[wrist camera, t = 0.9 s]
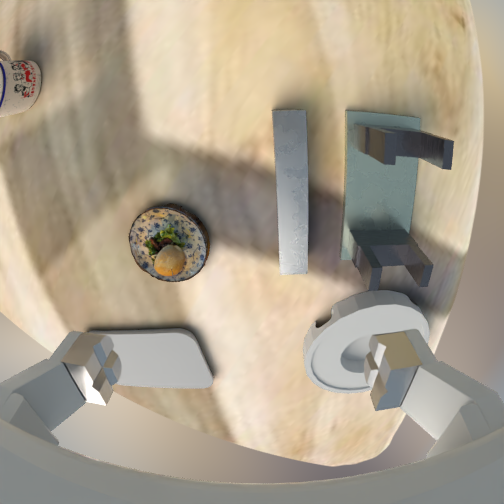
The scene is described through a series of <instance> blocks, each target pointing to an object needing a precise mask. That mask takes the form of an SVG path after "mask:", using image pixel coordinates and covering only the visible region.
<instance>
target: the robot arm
mask: <svg viewBox="0 0 504 504" xmlns="http://www.w3.org/2000/svg"><path fill="white" fill-rule="evenodd" d="M113 348H114V343H113V341H112V338H111V337H109V336H107V335H100V334H93V333H86V332H78V331H72V332H70V333H69V334H68V335H67V336H66V338H65V339H64V340H63V341H62V343H61V344H60V345H59V347H58V348H57V349H56V351H55V352H54V353H53V355H52V356H51V357H50V359H45V360H43V361H41V362H39V363H37V364H35V365H34V366H31V367H30V368H28V369H26V370H24V371H22V372H20V373H18V374H17V375H15V376H13V377H11V378H9V379H7V380H5V381H3V382H2V383H0V504H504V403H503V401H502V400H501V398H500V397H499V395H498V393H497V392H496V391H494V390H492V389H490V388H488V387H487V386H485V385H483V384H481V383H480V382H478V381H476V380H474V379H472V378H471V377H469V376H467V375H465V374H464V373H462V372H460V371H458V370H457V369H455V368H453V367H451V366H450V365H448V364H446V363H444V362H442V361H440V362H438V361H437V360H436V358H435V356H434V354H433V353H432V351H431V349H430V348H429V346H428V345H427V343H426V341H425V340H424V338H423V337H422V335H421V333H420V332H419V330H417V329H410V330H404V331H399V332H392V333H384V334H375V335H372V336H371V338H370V341H369V348H370V350H371V351H370V352H369V353H368V354H367V355H366V357H365V362H364V376H365V380H366V383H367V385H369V386H370V387H371V388H372V391H371V394H370V396H371V399H372V402H373V405H374V408H375V411H378V410H384V409H390V408H396V407H400V408H401V409H402V410H403V411H404V412H405V413H406V414H407V415H409V416H410V417H411V418H412V419H413V420H414V421H415V422H416V423H418V424H419V425H420V426H421V427H422V428H423V429H424V430H425V431H427V432H428V433H429V434H430V435H431V436H432V437H433V438H434V439H436V440H437V441H436V443H435V444H434V445H433V447H432V448H431V449H430V450H429V452H428V453H427V455H426V456H427V459H423V460H420V461H416V462H413V463H409V464H406V465H402V466H398V467H394V468H390V469H386V470H381V471H377V472H372V473H367V474H362V475H356V476H350V477H344V478H337V479H329V480H320V481H310V482H297V483H272V484H250V483H248V484H246V483H224V482H211V481H202V480H193V479H185V478H178V477H171V476H165V475H159V474H154V473H149V472H144V471H139V470H135V469H131V468H127V467H123V466H119V465H115V464H112V463H108V462H104V461H101V460H97V459H94V458H91V457H88V456H85V455H82V454H79V453H76V452H73V451H71V450H68V449H66V448H63V447H60V446H58V444H59V442H58V439H57V438H56V437H55V436H54V435H53V434H52V433H51V431H52V430H53V429H54V428H56V427H57V426H58V425H59V424H61V423H62V422H63V421H64V420H65V419H67V418H68V417H69V416H70V415H71V414H73V413H74V412H75V411H77V410H78V409H79V408H80V407H81V406H83V405H84V404H85V403H86V402H91V403H96V404H101V405H107V403H108V401H109V399H110V397H111V395H112V393H113V388H112V385H114V384H115V383H117V382H118V380H119V378H120V376H121V370H122V365H121V360H120V358H119V355H118V354H117V353H116V352H114V351H113Z"/></svg>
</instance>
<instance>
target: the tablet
mask: <svg viewBox="0 0 504 504" xmlns="http://www.w3.org/2000/svg"><path fill="white" fill-rule="evenodd" d="M86 333H93V334H100V335H107V336H109V337H111V338H112V341H113V343H114V348H113V351H114V352H116V353H117V354H118V355H119V358H120V360H121V365H122V370H121V376H120V378H119V380H118V382H117V383H116V384H119V385H126V386H140V387H158V388H207V387H210V386H211V385H212V384H213V375H212V373H211V371H210V369H209V367H208V364H207V362H206V360H205V358H204V355H203V353H202V351H201V348H200V346H199V344H198V342H197V340H196V338H195V336H194V335H193V334H192V333H191V332H190V331H188V330H186V329H182V328H173V329H151V330H114V331H90V332H86Z"/></svg>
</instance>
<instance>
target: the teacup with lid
mask: <svg viewBox="0 0 504 504" xmlns="http://www.w3.org/2000/svg"><path fill="white" fill-rule="evenodd" d="M0 58H1V59H2V60H3V61H0V117H3V116H7V115H12V114H16V113H21V112H24V111H26V110H28V109H29V108H30V107H31V106H32V105H33V104H34V102H35V101H36V99H37V97H38V94H39V91H40V87H41V72H40V69H39V67H38V65H37V64H36V63H35V62H33V61H11V59H10V57H9V55H8V54H7V53H6V52H4V51H2V50H0Z"/></svg>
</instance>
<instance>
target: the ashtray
mask: <svg viewBox="0 0 504 504" xmlns="http://www.w3.org/2000/svg"><path fill="white" fill-rule="evenodd" d="M410 329H417V330H419V332H420V333H421V335H422V337H423V338H424V340H425V341H426V343H427V345H428V340H429V335H430V331H429V326H428V322H427V320H426V318H425V317H424V315H423V313H422V311H421V310H420V308H419V307H418V305H417V304H416V305H414V304H413V303H412V302H411V301H410V299H409V297H408V296H406V295H405V294H403V293H399V292H395V291H390V290H378V291H368V292H364V293H360V294H356V295H353V296H351V297H349V298H346V299H344V300H342V301H340V302H338V303H336V304H334V305H333V306H332V309H331V319H330V320H329V321H328V322H327V323H326V324H324V325H323V326H321V327H320V328H316V322H314V323H313V324H312V325H311V326H310V328H309V330H308V332H307V334H306V336H305V338H304V345H303V356H304V365H305V369H306V373H307V376H308V377H309V378H310V379H311V381H312V382H313V383H314V384H316V385H317V386H319V387H321V388H322V389H325V390H328V391H332V392H336V393H358V392H365V391H369V390H372V388H371V387H370V386H369V385H367V383H366V380H365V376H364V362H365V357H366V355H367V354H368V353H369V352H370V351H371V350H370V348H369V341H370V338H371V336H372V335H375V334H384V333H392V332H399V331H404V330H410Z"/></svg>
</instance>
